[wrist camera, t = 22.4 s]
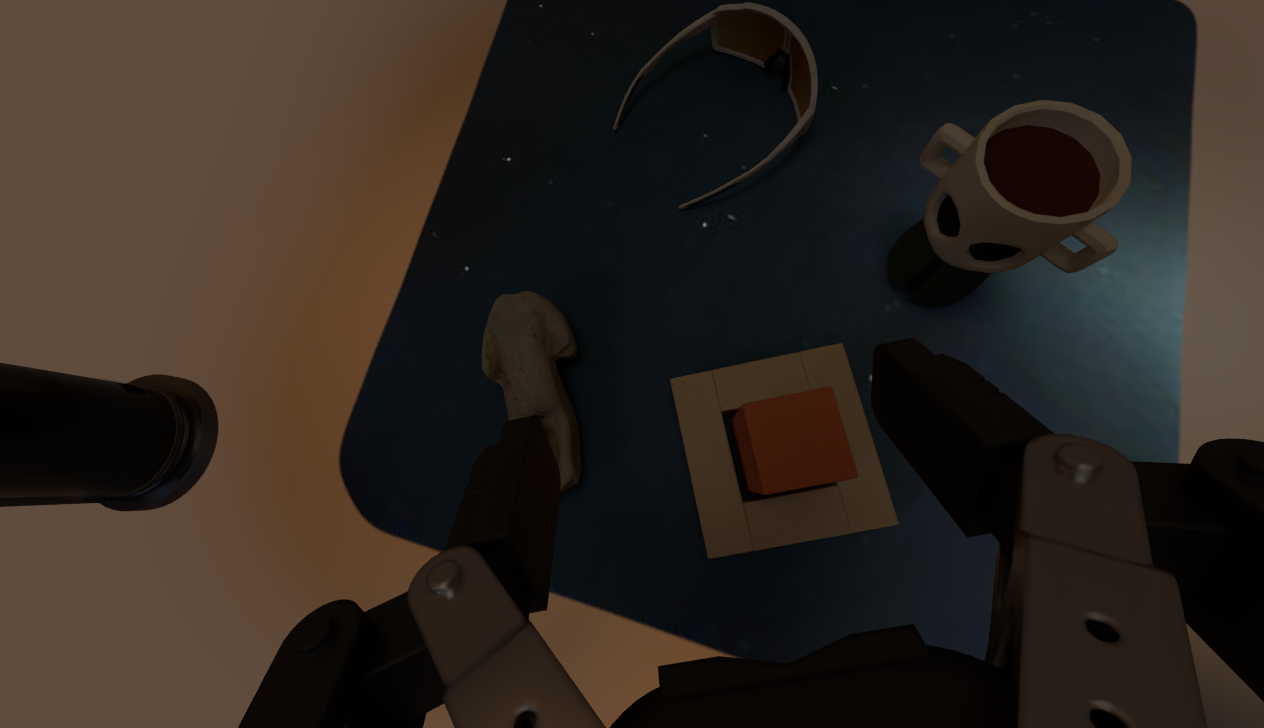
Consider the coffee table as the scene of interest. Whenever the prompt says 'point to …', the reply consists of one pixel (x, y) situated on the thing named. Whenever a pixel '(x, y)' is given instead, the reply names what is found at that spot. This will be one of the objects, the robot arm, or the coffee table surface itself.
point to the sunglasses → (760, 42)
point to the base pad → (784, 514)
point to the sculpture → (535, 371)
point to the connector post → (792, 442)
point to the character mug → (1013, 199)
